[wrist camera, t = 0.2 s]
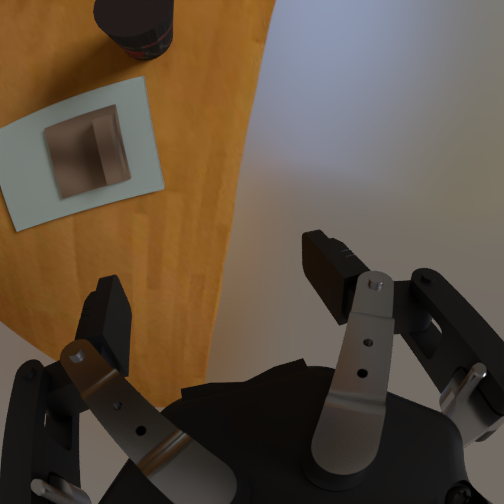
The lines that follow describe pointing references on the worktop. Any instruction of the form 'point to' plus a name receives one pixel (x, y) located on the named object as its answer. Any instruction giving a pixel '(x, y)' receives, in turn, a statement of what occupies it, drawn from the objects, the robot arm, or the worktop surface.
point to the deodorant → (137, 25)
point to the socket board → (41, 167)
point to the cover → (88, 151)
